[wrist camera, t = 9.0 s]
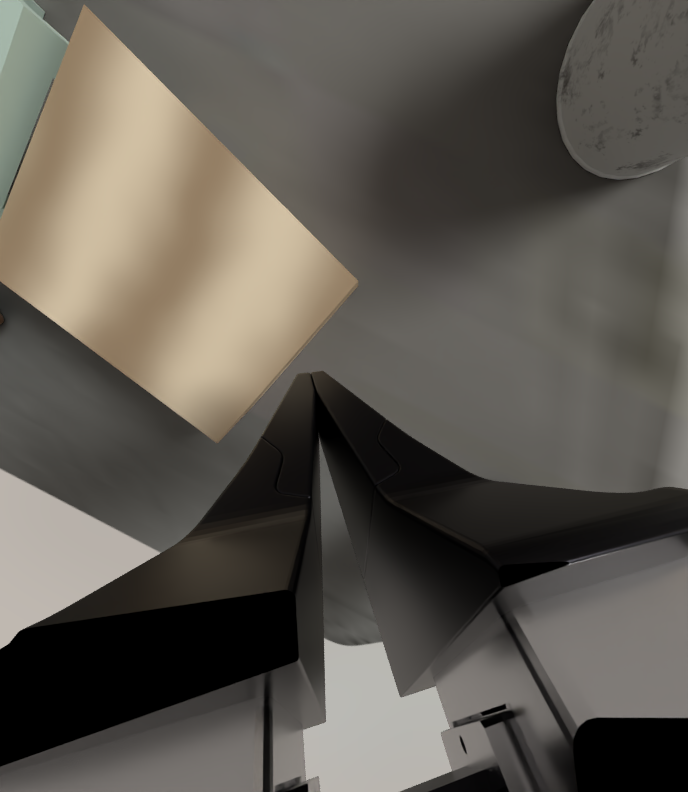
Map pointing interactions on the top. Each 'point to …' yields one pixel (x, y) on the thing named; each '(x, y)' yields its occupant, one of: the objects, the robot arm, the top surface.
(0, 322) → the tin
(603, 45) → the grey round cylinder
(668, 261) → the top surface
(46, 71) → the green notched block
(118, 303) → the beige ridged block
